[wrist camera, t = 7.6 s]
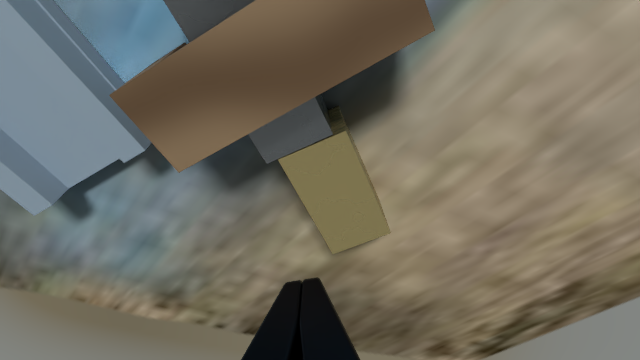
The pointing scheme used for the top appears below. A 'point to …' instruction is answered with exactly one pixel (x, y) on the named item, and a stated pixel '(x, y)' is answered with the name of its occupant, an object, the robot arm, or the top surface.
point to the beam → (261, 69)
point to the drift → (283, 132)
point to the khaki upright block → (337, 188)
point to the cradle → (55, 106)
